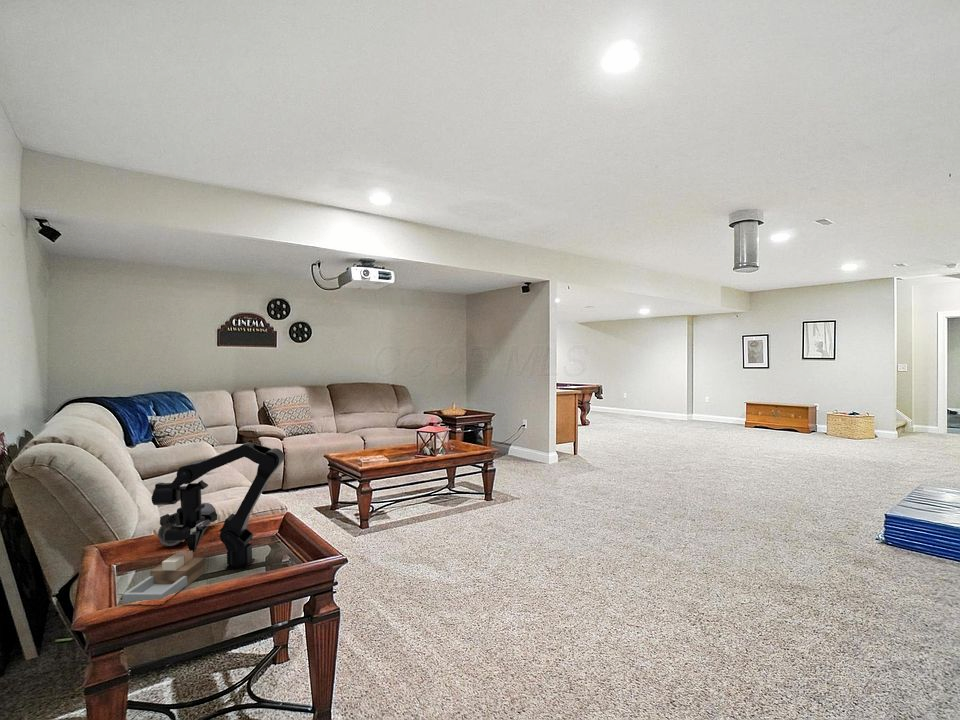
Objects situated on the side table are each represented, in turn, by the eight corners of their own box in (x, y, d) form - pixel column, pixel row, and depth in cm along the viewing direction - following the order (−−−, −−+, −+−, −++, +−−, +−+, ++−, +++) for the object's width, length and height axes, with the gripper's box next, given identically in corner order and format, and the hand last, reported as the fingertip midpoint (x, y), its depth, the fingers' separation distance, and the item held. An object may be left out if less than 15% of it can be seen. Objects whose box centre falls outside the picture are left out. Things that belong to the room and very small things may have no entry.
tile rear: (192, 558, 155) (192, 550, 155) (184, 564, 151) (184, 555, 151) (180, 558, 155) (180, 550, 155) (171, 564, 151) (171, 555, 151)
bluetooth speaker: (183, 549, 174) (182, 521, 174) (156, 550, 174) (155, 521, 174) (218, 526, 197) (217, 501, 196) (195, 526, 197) (194, 501, 197)
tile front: (184, 564, 151) (183, 556, 151) (175, 570, 147) (175, 562, 147) (171, 564, 151) (171, 556, 151) (162, 570, 147) (162, 562, 147)
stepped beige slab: (205, 572, 156) (204, 557, 155) (187, 585, 147) (186, 570, 146) (170, 572, 156) (170, 557, 156) (150, 585, 147) (150, 570, 147)
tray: (187, 585, 147) (187, 575, 146) (162, 605, 136) (161, 594, 136) (150, 585, 147) (150, 575, 147) (122, 605, 136) (122, 594, 136)
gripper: (185, 494, 168) (186, 540, 168) (145, 513, 149) (147, 564, 149) (217, 494, 167) (219, 540, 167) (181, 512, 148) (183, 564, 149)
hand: (192, 552), depth 158 cm, fingers closed
